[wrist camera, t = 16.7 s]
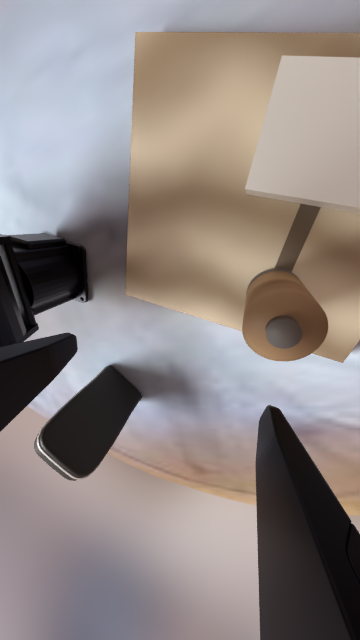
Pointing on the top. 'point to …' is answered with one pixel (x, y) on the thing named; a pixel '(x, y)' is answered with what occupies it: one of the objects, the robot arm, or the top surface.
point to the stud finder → (311, 135)
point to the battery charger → (87, 425)
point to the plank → (227, 184)
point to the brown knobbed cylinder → (282, 317)
